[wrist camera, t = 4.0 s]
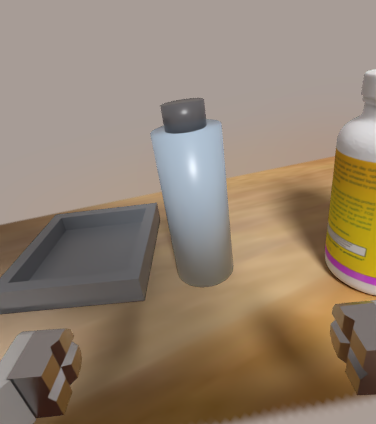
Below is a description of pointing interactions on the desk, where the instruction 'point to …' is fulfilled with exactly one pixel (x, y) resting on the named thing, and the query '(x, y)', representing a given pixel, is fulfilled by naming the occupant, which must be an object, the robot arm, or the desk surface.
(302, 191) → the desk surface
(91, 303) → the box
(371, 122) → the supplement bottle
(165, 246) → the desk surface
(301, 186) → the desk surface
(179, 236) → the blue bottle
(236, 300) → the desk surface
